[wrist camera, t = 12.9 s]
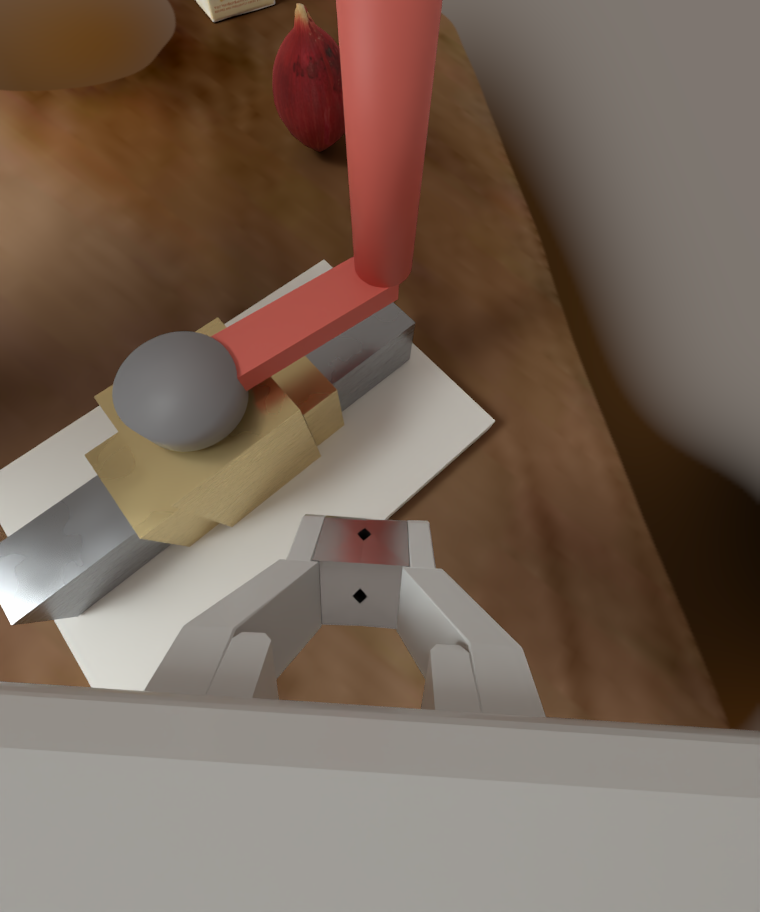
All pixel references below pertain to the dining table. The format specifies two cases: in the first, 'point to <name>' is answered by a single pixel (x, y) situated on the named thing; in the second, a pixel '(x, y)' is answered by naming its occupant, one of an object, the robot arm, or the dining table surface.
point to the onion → (309, 84)
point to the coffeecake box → (231, 7)
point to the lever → (339, 289)
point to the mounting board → (265, 528)
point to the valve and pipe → (190, 476)
